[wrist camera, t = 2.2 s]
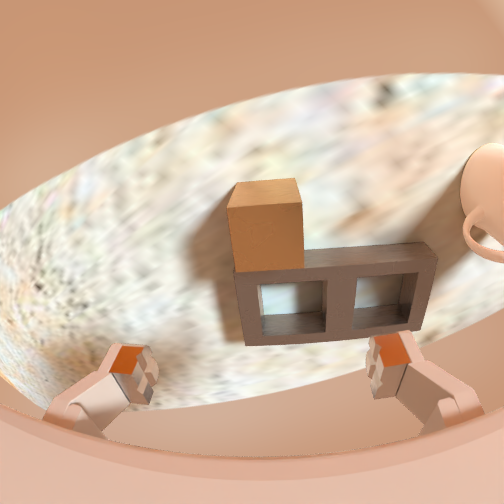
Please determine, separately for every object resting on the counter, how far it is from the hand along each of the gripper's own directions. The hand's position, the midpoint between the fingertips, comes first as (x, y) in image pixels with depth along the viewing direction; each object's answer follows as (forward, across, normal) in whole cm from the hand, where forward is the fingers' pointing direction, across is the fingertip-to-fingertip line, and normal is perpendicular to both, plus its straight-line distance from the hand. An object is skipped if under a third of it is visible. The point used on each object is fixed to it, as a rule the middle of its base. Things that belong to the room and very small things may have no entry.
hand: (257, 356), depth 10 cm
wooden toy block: (+16, 0, 0) cm, 16 cm away
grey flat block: (+15, -6, +8) cm, 18 cm away
